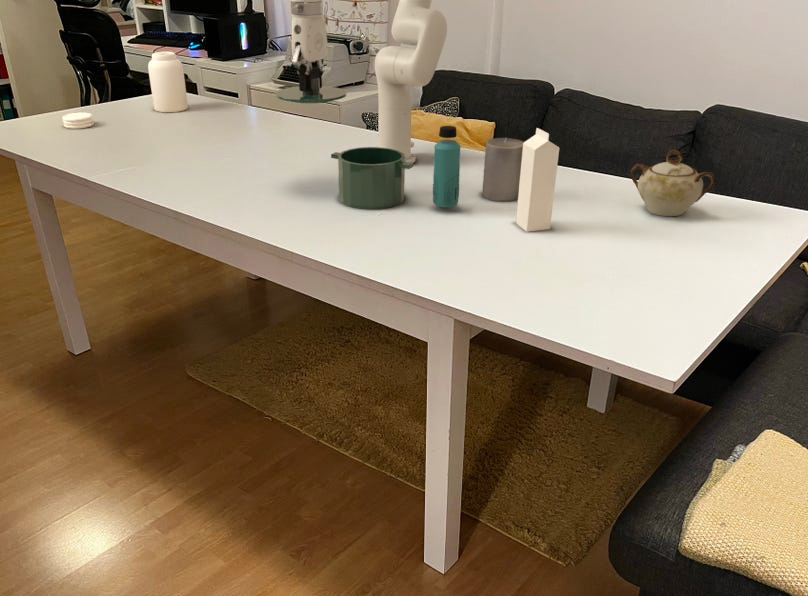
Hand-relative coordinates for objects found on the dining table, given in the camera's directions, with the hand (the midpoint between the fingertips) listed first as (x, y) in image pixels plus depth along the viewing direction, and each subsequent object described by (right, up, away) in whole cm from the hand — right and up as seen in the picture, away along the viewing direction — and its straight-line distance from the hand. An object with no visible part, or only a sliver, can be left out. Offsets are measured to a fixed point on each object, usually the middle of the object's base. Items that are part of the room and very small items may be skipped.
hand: (310, 88), depth 188 cm
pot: (+15, -27, +5) cm, 31 cm away
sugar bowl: (+88, -32, -3) cm, 93 cm away
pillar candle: (+49, -26, +7) cm, 56 cm away
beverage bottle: (+33, -31, -2) cm, 46 cm away
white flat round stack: (-88, +13, +72) cm, 114 cm away
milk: (+53, -37, -13) cm, 66 cm away
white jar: (-62, +26, +95) cm, 117 cm away
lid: (0, -1, +1) cm, 2 cm away
